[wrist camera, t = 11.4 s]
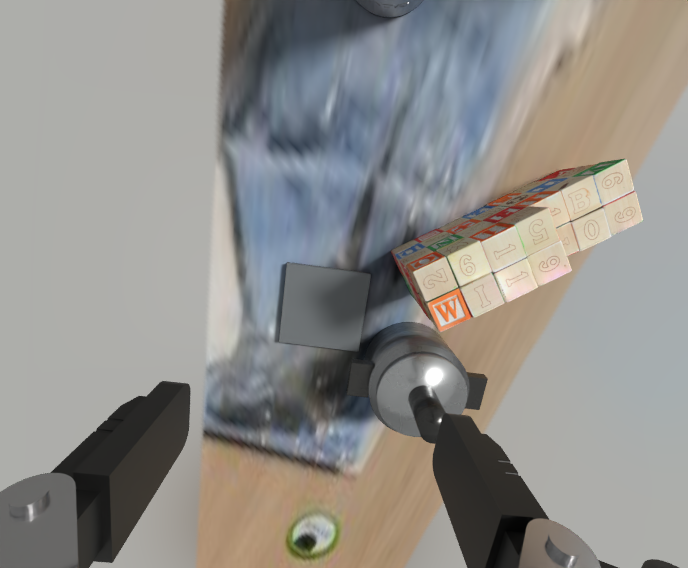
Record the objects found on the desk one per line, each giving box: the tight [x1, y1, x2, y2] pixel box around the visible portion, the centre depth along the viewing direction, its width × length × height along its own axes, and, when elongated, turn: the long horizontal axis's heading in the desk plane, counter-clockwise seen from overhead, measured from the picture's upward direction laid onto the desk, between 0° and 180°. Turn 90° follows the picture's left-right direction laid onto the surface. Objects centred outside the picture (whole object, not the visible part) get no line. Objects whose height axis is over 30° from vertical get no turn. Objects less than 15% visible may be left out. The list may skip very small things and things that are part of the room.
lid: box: [376, 351, 467, 444], centre depth 33 cm, size 10×10×6 cm
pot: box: [347, 322, 488, 431], centre depth 40 cm, size 11×15×7 cm
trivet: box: [279, 262, 371, 352], centre depth 41 cm, size 10×10×1 cm
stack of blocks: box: [391, 159, 643, 332], centre depth 34 cm, size 21×6×12 cm, turn 116°
